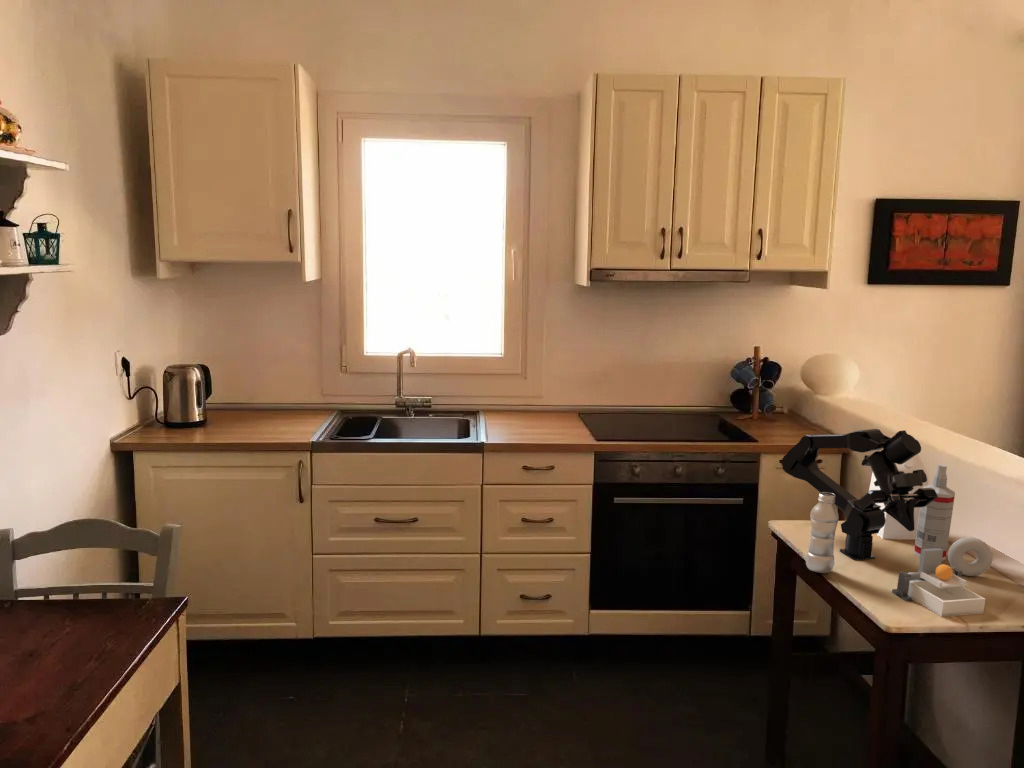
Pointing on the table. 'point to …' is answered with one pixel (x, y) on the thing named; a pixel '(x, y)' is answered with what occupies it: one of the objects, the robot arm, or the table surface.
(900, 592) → the stand
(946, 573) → the ball
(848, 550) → the robot arm
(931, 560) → the lever
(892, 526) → the milk
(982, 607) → the white storage bin
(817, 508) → the plastic bottle
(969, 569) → the donut
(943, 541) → the spray bottle
